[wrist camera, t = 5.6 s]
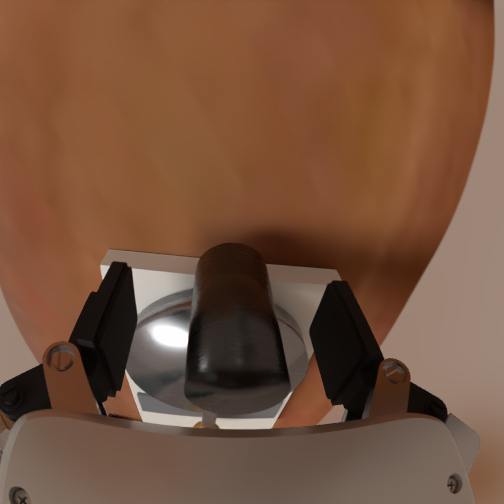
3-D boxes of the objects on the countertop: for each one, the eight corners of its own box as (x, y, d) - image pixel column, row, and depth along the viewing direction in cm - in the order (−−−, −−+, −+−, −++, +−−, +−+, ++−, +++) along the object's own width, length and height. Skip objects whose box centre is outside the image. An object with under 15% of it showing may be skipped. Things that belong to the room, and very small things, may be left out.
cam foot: (115, 221, 12) (49, 335, 6) (349, 249, 14) (411, 358, 8) (145, 412, 22) (138, 478, 16) (265, 420, 23) (273, 484, 18)
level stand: (109, 249, 14) (97, 269, 13) (336, 269, 16) (346, 290, 15) (145, 411, 25) (143, 427, 23) (268, 418, 27) (270, 433, 25)
